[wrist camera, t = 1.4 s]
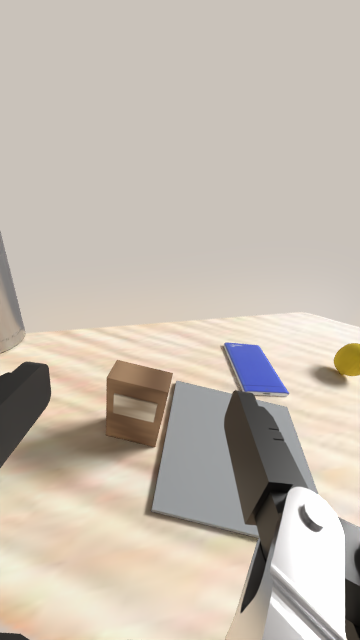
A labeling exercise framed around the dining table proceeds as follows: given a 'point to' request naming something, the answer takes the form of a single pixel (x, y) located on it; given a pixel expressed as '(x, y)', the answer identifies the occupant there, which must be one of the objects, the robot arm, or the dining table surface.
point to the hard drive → (254, 370)
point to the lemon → (348, 360)
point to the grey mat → (209, 460)
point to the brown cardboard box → (136, 402)
